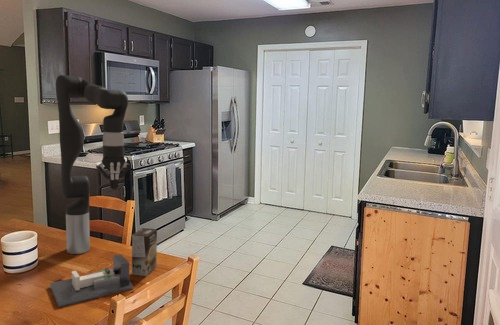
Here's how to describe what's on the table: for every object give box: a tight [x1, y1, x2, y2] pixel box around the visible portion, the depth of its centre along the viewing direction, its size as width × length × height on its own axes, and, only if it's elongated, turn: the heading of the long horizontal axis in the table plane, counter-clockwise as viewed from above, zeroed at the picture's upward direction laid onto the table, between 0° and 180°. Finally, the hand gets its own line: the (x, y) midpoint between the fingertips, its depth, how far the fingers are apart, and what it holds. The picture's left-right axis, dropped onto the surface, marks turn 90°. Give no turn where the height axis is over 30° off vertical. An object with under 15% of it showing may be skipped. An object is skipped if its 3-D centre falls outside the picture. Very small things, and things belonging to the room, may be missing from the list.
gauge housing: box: [49, 253, 134, 308], centre depth 135 cm, size 16×24×8 cm, turn 126°
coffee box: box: [131, 227, 158, 277], centre depth 150 cm, size 9×6×16 cm
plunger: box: [71, 267, 114, 291], centre depth 136 cm, size 6×13×5 cm, turn 126°
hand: (113, 188), depth 146 cm, fingers closed
